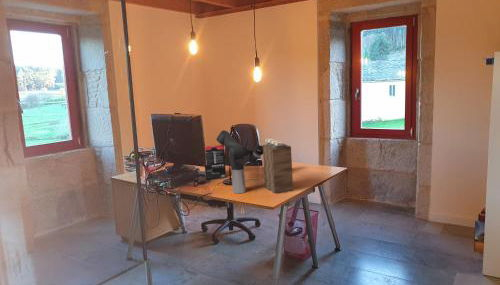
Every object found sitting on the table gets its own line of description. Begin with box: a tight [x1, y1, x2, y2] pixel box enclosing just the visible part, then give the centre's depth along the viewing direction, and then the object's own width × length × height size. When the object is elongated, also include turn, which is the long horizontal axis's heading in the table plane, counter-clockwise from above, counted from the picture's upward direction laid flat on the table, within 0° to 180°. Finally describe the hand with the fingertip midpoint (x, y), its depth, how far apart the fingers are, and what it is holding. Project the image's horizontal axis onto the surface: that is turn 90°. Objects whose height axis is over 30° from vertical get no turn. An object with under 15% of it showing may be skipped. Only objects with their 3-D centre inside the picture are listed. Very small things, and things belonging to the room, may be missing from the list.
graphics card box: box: [204, 144, 227, 180], centre depth 316 cm, size 17×7×27 cm, turn 102°
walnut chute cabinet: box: [262, 142, 294, 194], centre depth 275 cm, size 18×14×34 cm
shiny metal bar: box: [263, 137, 283, 146], centre depth 277 cm, size 24×4×3 cm, turn 20°
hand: (264, 145), depth 294 cm, fingers open, 8 cm apart
